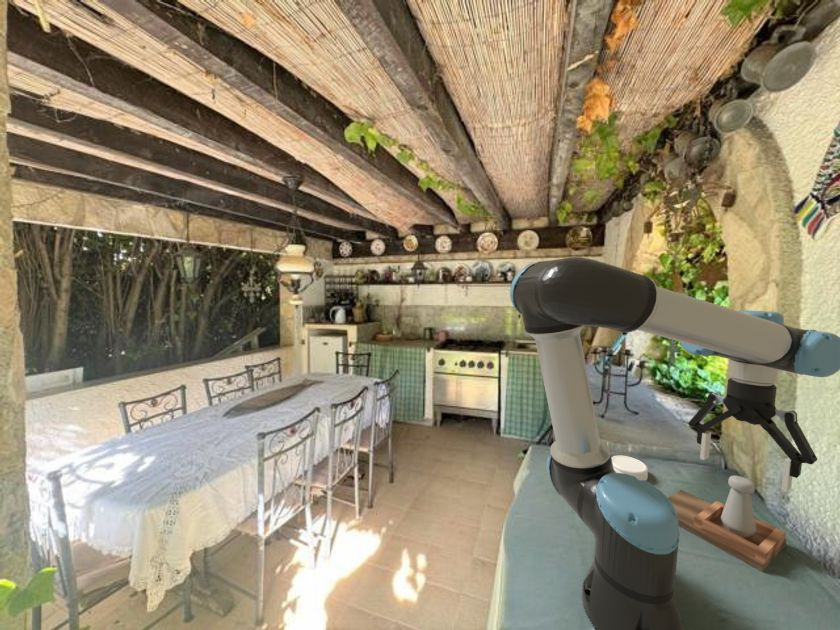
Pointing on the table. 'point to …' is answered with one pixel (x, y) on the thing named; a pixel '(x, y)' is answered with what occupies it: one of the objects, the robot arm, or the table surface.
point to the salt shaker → (739, 508)
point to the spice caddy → (710, 527)
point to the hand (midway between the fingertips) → (741, 472)
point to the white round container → (630, 467)
